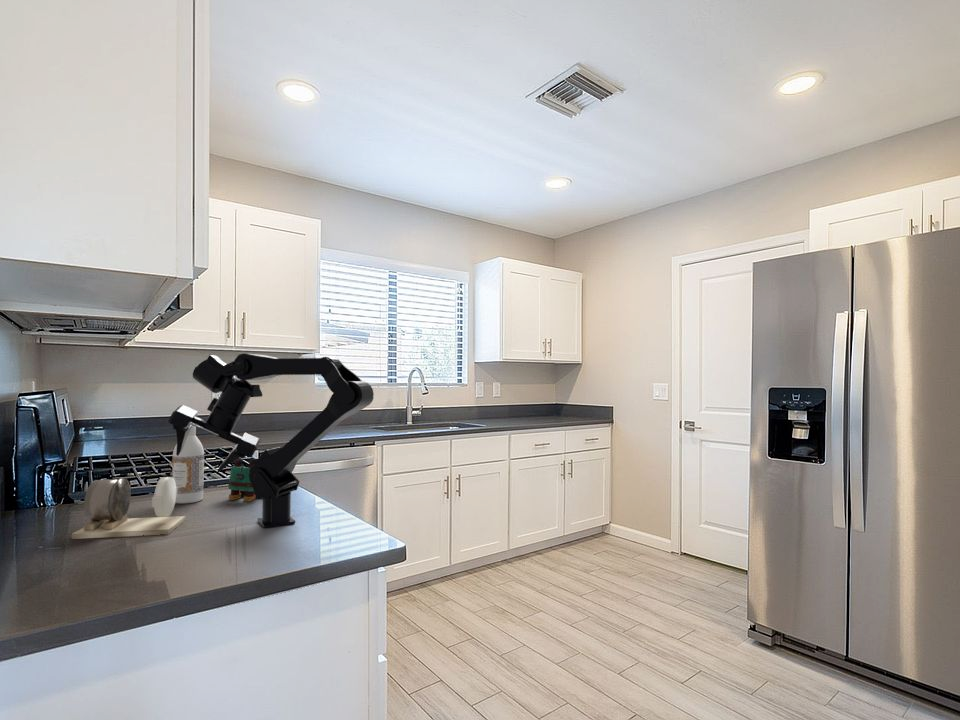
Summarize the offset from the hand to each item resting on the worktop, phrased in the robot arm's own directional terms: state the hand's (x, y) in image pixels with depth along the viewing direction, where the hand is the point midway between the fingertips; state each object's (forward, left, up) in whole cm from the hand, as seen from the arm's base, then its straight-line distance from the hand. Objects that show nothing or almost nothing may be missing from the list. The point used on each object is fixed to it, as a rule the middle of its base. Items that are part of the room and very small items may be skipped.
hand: (198, 463), depth 119 cm
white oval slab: (-6, +7, -10) cm, 13 cm away
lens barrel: (-2, +16, -10) cm, 19 cm away
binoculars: (+14, -14, -12) cm, 23 cm away
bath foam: (+18, 0, -12) cm, 22 cm away
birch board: (-4, +12, -12) cm, 17 cm away
